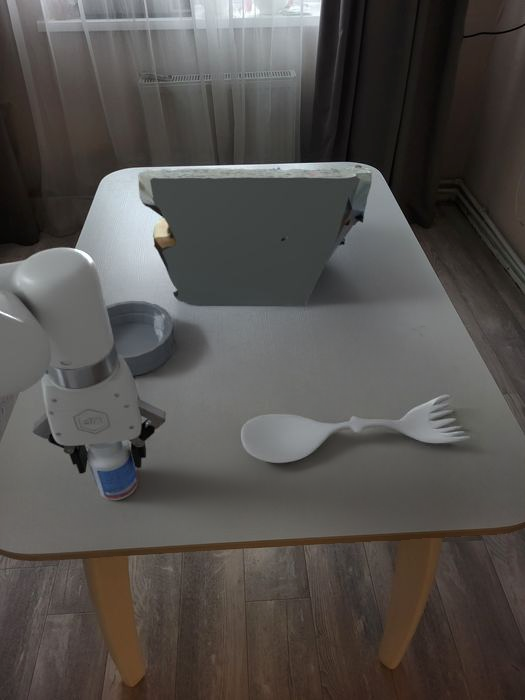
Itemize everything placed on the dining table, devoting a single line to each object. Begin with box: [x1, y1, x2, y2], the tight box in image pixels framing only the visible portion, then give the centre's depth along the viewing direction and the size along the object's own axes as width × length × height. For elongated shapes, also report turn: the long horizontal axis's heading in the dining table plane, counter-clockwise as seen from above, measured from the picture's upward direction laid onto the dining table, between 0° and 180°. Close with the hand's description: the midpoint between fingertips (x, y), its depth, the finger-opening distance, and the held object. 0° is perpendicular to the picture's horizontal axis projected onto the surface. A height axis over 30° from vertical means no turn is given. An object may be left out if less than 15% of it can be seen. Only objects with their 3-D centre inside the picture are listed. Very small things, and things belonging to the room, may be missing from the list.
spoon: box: [240, 394, 472, 464], centre depth 80 cm, size 9×32×4 cm, turn 96°
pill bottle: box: [87, 440, 139, 501], centre depth 72 cm, size 6×5×10 cm
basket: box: [137, 164, 373, 307], centre depth 107 cm, size 40×31×28 cm
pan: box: [106, 300, 177, 377], centre depth 95 cm, size 16×16×4 cm
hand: (111, 461), depth 72 cm, fingers open, 6 cm apart
